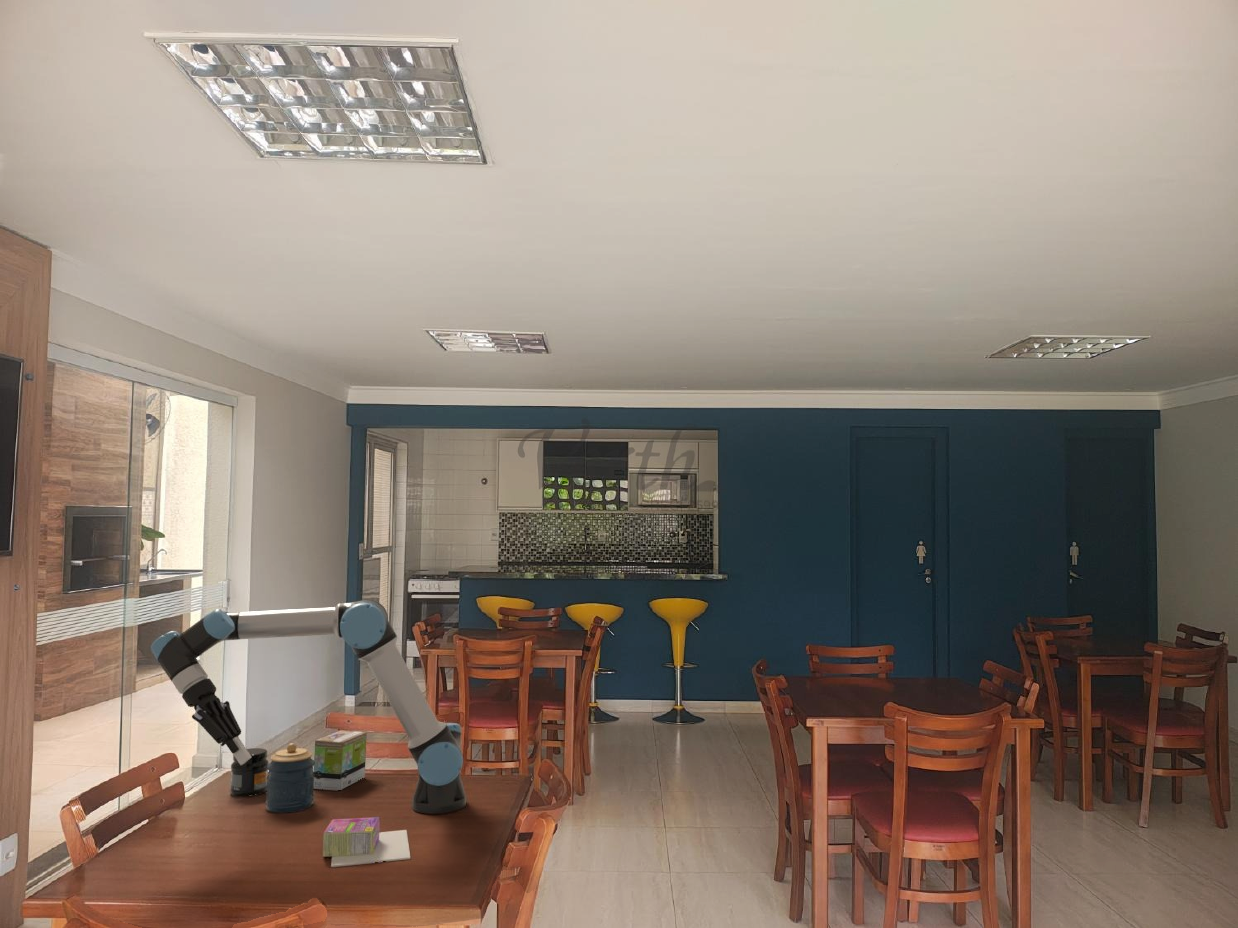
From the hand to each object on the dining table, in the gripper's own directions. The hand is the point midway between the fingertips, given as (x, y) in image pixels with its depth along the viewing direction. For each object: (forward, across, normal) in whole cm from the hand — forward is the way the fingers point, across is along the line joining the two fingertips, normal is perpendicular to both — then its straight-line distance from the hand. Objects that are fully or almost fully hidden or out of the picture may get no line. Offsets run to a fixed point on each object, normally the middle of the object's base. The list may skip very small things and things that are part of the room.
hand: (246, 761), depth 215 cm
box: (+28, +2, +7) cm, 29 cm away
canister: (+14, -30, -16) cm, 36 cm away
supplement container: (+1, -41, -31) cm, 51 cm away
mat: (+37, -1, +13) cm, 39 cm away
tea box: (+16, -53, -13) cm, 57 cm away
